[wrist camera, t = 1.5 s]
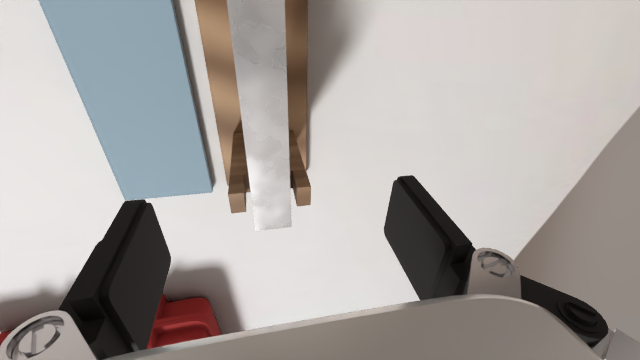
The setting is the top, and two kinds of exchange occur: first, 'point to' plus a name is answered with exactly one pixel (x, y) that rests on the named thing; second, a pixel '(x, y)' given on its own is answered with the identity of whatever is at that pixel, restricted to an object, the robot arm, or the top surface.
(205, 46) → the cradle stand
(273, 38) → the aluminium rail
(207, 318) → the first aid kit
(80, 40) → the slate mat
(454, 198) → the top surface
